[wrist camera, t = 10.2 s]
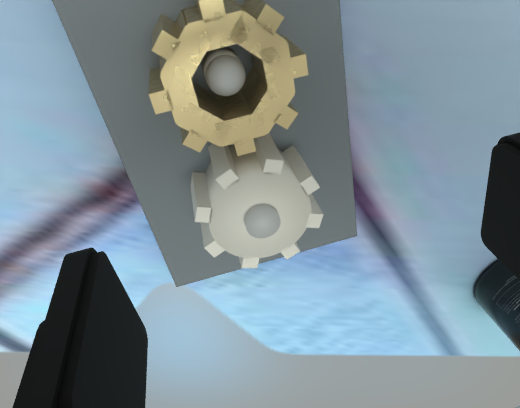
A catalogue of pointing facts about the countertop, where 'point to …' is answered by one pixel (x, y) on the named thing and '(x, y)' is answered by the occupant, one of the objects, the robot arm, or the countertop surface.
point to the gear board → (225, 158)
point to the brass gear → (256, 83)
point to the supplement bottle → (501, 299)
